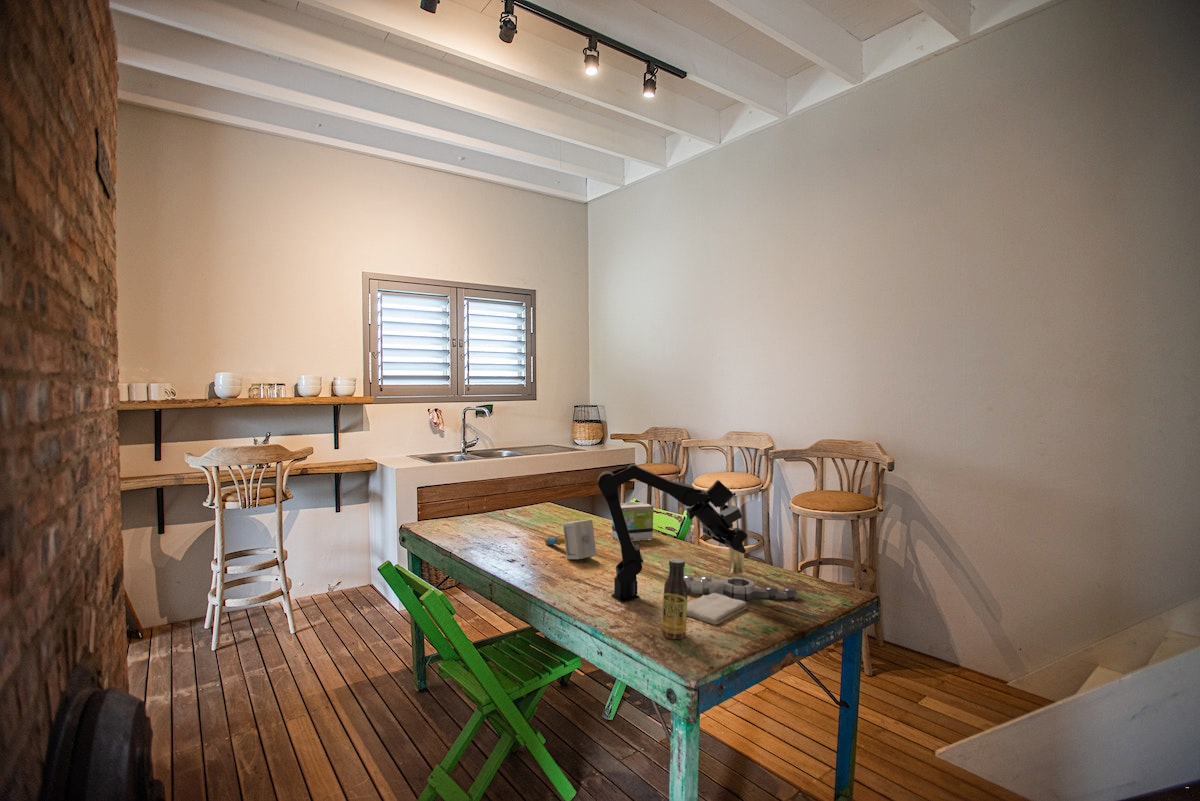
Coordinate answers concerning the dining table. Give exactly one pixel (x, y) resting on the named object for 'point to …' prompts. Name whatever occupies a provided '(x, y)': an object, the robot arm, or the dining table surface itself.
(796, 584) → the dining table surface
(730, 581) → the chain joint
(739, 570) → the brass pin
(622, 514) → the robot arm
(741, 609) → the washcloth
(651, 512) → the tea box
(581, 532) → the hammer
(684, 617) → the sauce bottle
